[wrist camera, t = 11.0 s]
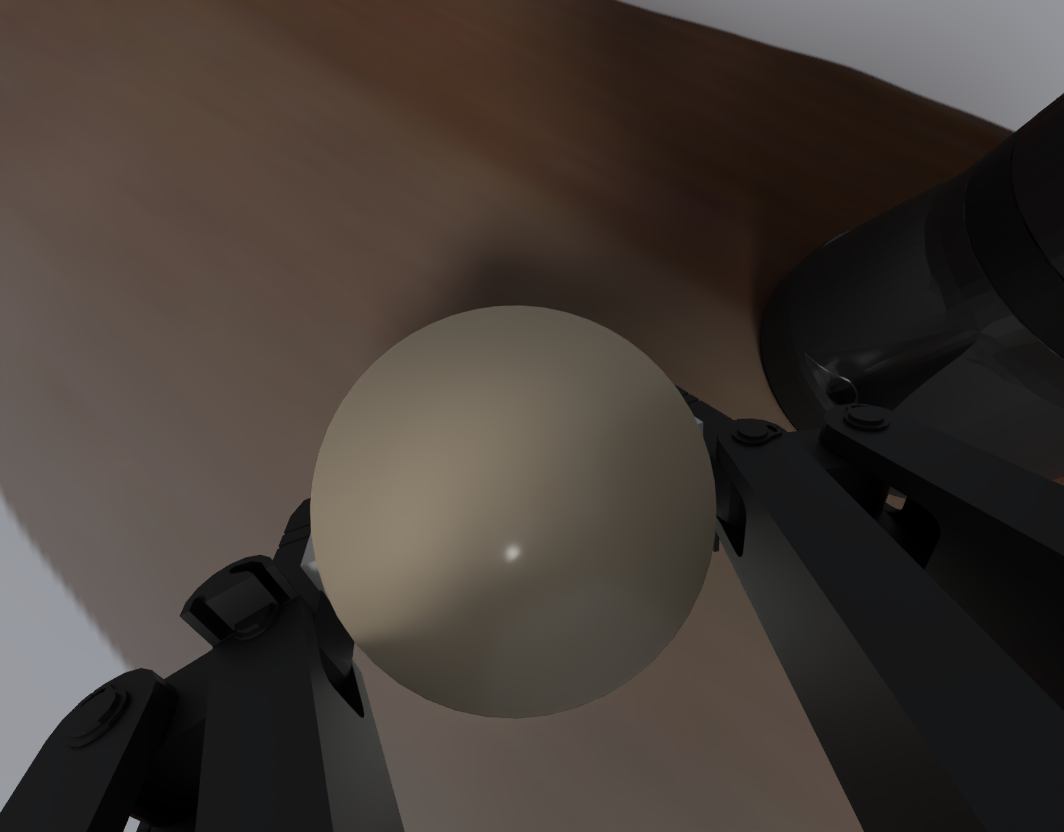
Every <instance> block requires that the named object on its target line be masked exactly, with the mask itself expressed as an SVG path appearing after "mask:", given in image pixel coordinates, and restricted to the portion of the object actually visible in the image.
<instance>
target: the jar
mask: <svg viewBox="0 0 1064 832" xmlns="http://www.w3.org/2000/svg"><path fill="white" fill-rule="evenodd" d="M716 510H717V507H716V493H715V481H714V476H713V471H712V466H711V461H710V456H709V453H708V450H707V447H706V444H705V441H704V438H703V435H702V433H701V430H700V428H699V426H698V424H697V422H696V420H695V418H694V416H693V413H692V411H691V410H690V408H689V406H688V405H687V403H686V402H685V400H684V398H683V397H682V395H681V394H680V392H679V390H678V389H677V388H676V387H675V385H674V384H673V383H672V382H671V380H670V379H669V378H668V377H667V375H666V374H665V373H664V372H663V371H662V370H661V369H660V368H659V367H658V366H657V365H656V364H655V363H654V362H653V361H652V360H651V359H650V358H649V357H648V356H647V355H646V354H645V353H643V352H642V351H641V350H639V349H638V348H637V347H636V346H634V345H633V344H632V343H630V342H629V341H628V340H626V339H625V338H623V337H621V336H620V335H618V334H616V333H615V332H613V331H611V330H610V329H608V328H606V327H604V326H601V325H599V324H597V323H595V322H593V321H591V320H588V319H586V318H583V317H580V316H577V315H573V314H570V313H567V312H563V311H558V310H554V309H549V308H544V307H533V306H522V305H520V306H495V307H488V308H480V309H474V310H471V311H467V312H463V313H459V314H455V315H452V316H449V317H447V318H444V319H442V320H439V321H436V322H434V323H431V324H429V325H427V326H426V327H424V328H422V329H420V330H418V331H416V332H414V333H412V334H410V335H409V336H407V337H406V338H405V339H403V340H402V341H400V342H399V343H397V344H396V345H394V346H393V347H391V348H390V349H389V350H388V351H387V352H386V353H384V354H383V355H382V356H381V357H380V358H379V359H378V360H376V361H375V362H374V363H373V364H372V365H371V366H370V367H369V368H368V369H367V371H366V372H365V373H364V374H363V375H362V376H361V377H360V378H359V379H358V381H357V382H356V383H355V384H354V386H353V387H352V388H351V390H350V391H349V393H348V394H347V396H346V397H345V398H344V400H343V401H342V403H341V404H340V406H339V408H338V410H337V412H336V414H335V416H334V418H333V419H332V421H331V423H330V425H329V427H328V430H327V432H326V435H325V438H324V440H323V443H322V446H321V448H320V451H319V455H318V459H317V463H316V468H315V472H314V476H313V483H312V493H311V502H310V516H311V537H312V543H313V548H314V554H315V560H316V564H317V568H318V571H319V574H320V577H321V580H322V583H323V586H324V590H325V592H326V594H327V596H328V598H329V600H330V602H331V604H332V606H333V608H334V611H335V613H336V615H337V617H338V618H339V620H340V621H341V623H342V624H343V626H344V627H345V629H346V630H347V632H348V633H349V635H350V636H351V637H352V639H353V640H354V642H355V643H356V644H357V645H358V646H359V647H360V648H361V650H362V651H363V652H364V653H365V654H366V655H367V656H368V657H369V658H370V659H371V660H372V661H373V663H374V664H375V665H377V666H378V667H379V668H380V669H382V670H383V671H384V672H385V673H387V674H388V675H389V676H390V677H392V678H393V679H394V680H395V681H397V682H398V683H399V684H401V685H402V686H404V687H406V688H408V689H409V690H411V691H413V692H415V693H416V694H418V695H420V696H422V697H423V698H425V699H427V700H430V701H432V702H435V703H438V704H440V705H443V706H445V707H448V708H451V709H453V710H456V711H461V712H466V713H470V714H475V715H480V716H484V717H499V718H526V717H536V716H546V715H551V714H555V713H558V712H562V711H566V710H570V709H574V708H577V707H580V706H582V705H584V704H587V703H589V702H591V701H594V700H596V699H598V698H601V697H603V696H605V695H607V694H609V693H610V692H612V691H613V690H615V689H617V688H618V687H620V686H621V685H623V684H625V683H626V682H628V681H629V680H631V679H632V678H633V677H635V676H636V675H637V674H638V673H639V672H641V671H642V670H643V669H644V668H645V667H646V666H648V665H649V664H650V663H651V662H652V661H654V660H655V658H656V657H657V656H658V655H659V654H660V653H661V652H662V650H663V649H664V648H665V647H666V646H667V645H668V644H669V643H670V641H671V640H672V639H673V638H674V637H675V635H676V634H677V632H678V630H679V629H680V627H681V626H682V624H683V623H684V621H685V620H686V618H687V617H688V615H689V614H690V612H691V610H692V608H693V605H694V603H695V601H696V599H697V597H698V595H699V593H700V591H701V589H702V586H703V583H704V580H705V577H706V573H707V570H708V567H709V564H710V561H711V555H712V550H713V544H714V539H715V529H716Z"/></svg>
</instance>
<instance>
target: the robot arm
mask: <svg viewBox="0 0 1064 832" xmlns="http://www.w3.org/2000/svg"><path fill="white" fill-rule="evenodd" d="M761 345H762V355H763V360H764V365H765V369H766V373H767V376H768V379H769V382H770V384H771V387H772V389H773V391H774V393H775V395H776V398H777V400H778V402H779V403H780V405H781V407H782V408H783V410H784V412H785V413H786V415H787V416H788V418H789V419H790V421H791V422H792V423H793V425H794V426H795V427H796V429H797V430H798V431H795V432H787V431H786V430H784V429H783V428H781V427H780V426H778V425H777V424H774V423H771V422H768V421H765V420H758V419H737V420H732V419H731V418H729V417H727V416H726V415H724V414H722V413H721V412H719V411H717V410H716V409H714V408H713V407H711V406H709V405H708V404H706V403H704V402H703V401H699V400H698V398H696V397H694V396H693V395H691V394H690V395H689V394H688V392H686V391H684V390H683V389H681V388H679V387H678V386H676V385H675V387H676V388H677V389H678V390H679V392H680V394H681V395H682V397H683V398H684V400H685V402H686V403H687V405H688V406H689V408H690V410H691V411H692V413H693V416H694V418H695V420H696V422H697V424H698V426H699V428H700V430H701V433H702V435H703V438H704V441H705V444H706V447H707V450H708V453H709V456H710V461H711V466H712V471H713V476H714V481H715V493H716V507H717V510H716V529H715V539H714V544H713V551H714V552H716V551H719V540H720V541H721V543H722V545H723V547H724V549H725V551H726V553H727V555H728V557H729V559H730V561H731V563H732V565H733V567H734V569H735V571H736V573H737V575H738V577H739V579H740V581H741V583H742V585H743V587H744V589H745V591H746V593H747V595H748V597H749V599H750V601H751V603H752V605H753V607H754V609H755V611H756V613H757V615H758V618H759V620H760V622H761V624H762V626H763V628H764V630H765V632H766V634H767V636H768V638H769V640H770V642H771V644H772V646H773V648H774V650H775V652H776V654H777V656H778V658H779V660H780V662H781V664H782V666H783V668H784V670H785V672H786V674H787V676H788V678H789V680H790V682H791V684H792V686H793V688H794V690H795V692H796V694H797V697H798V699H799V701H800V703H801V705H802V707H803V709H804V711H805V713H806V715H807V717H808V719H809V721H810V723H811V725H812V727H813V729H814V731H815V733H816V735H817V737H818V739H819V741H820V743H821V745H822V747H823V749H824V751H825V753H826V755H827V757H828V759H829V761H830V763H831V765H832V767H833V769H834V771H835V773H836V776H837V778H838V780H839V782H840V784H841V786H842V788H843V790H844V792H845V794H846V796H847V798H848V800H849V802H850V804H851V806H852V808H853V810H854V812H855V814H856V816H857V818H858V820H859V822H860V824H861V826H862V828H863V830H864V832H1064V486H1063V485H1061V484H1058V483H1056V482H1054V481H1052V480H1054V479H1057V478H1060V477H1063V476H1064V93H1063V94H1062V95H1061V96H1060V97H1058V98H1057V99H1056V100H1055V101H1053V102H1052V103H1051V104H1049V105H1048V106H1047V107H1046V108H1044V109H1043V110H1042V111H1041V112H1039V113H1038V114H1037V115H1036V116H1034V117H1033V118H1032V119H1031V120H1030V121H1028V122H1027V123H1026V124H1025V125H1024V126H1022V127H1021V128H1020V129H1018V130H1017V131H1016V132H1015V133H1013V134H1012V135H1011V136H1009V137H1008V138H1007V139H1006V140H1004V141H1003V142H1002V143H1001V144H999V145H998V146H997V147H996V148H994V149H993V150H992V151H991V152H989V153H988V154H987V155H985V156H984V157H983V158H981V159H980V160H979V161H978V162H976V163H975V164H974V165H972V166H971V167H970V168H969V169H967V170H965V171H964V172H962V173H961V174H959V175H957V176H955V177H953V178H951V179H949V180H948V181H946V182H944V183H942V184H940V185H938V186H936V187H934V188H932V189H930V190H928V191H926V192H924V193H922V194H920V195H918V196H916V197H914V198H912V199H910V200H908V201H906V202H904V203H902V204H900V205H898V206H896V207H894V208H892V209H890V210H888V211H886V212H885V213H883V214H881V215H879V216H877V217H875V218H873V219H871V220H869V221H868V222H866V223H864V224H862V225H860V226H858V227H857V228H855V229H852V230H849V231H846V232H844V233H841V234H839V235H837V236H835V237H833V238H831V239H830V240H828V241H826V242H825V243H823V244H822V245H821V246H819V247H818V248H816V249H815V250H814V251H813V252H812V253H810V254H809V255H808V256H807V257H806V258H805V259H804V260H803V261H802V262H801V263H800V264H799V265H797V266H796V267H795V268H794V269H793V270H792V271H791V272H790V273H789V274H788V275H787V276H786V277H785V278H784V279H783V280H782V281H781V282H780V283H779V285H778V286H777V287H776V289H775V290H774V292H773V294H772V295H771V297H770V299H769V302H768V304H767V307H766V310H765V313H764V317H763V323H762V332H761ZM888 494H891V495H894V496H898V497H902V498H906V501H905V503H904V506H903V508H902V509H901V510H900V509H896V508H894V507H892V506H890V505H889V504H887V503H885V502H886V499H887V496H888ZM310 502H311V498H309V499H306V500H304V501H303V502H302V503H301V505H300V506H299V507H298V508H297V509H296V511H295V512H294V513H293V514H292V515H291V516H290V519H289V521H288V524H287V526H286V529H285V531H284V533H285V535H283V536H282V539H281V541H280V544H279V549H277V552H276V554H275V557H274V559H273V561H272V559H271V558H270V557H267V556H263V555H257V556H251V557H246V558H244V559H241V560H239V561H236V562H234V563H232V564H230V565H228V566H226V567H225V568H223V569H222V570H220V571H219V572H217V573H215V574H214V575H212V576H211V577H210V578H209V579H208V580H207V581H205V582H204V583H203V584H202V585H201V586H200V587H198V588H197V590H196V591H195V592H194V593H193V594H192V596H191V597H190V598H189V599H188V600H187V602H186V603H185V605H184V607H183V610H182V612H181V614H180V617H181V618H182V619H183V620H184V621H185V622H186V623H188V624H189V625H190V626H191V627H192V628H193V629H194V630H195V631H196V632H198V633H199V634H200V635H201V636H202V637H203V638H204V639H205V640H206V641H207V642H209V643H210V644H211V645H212V646H213V649H212V650H211V651H209V652H208V653H206V654H205V655H203V656H201V657H200V658H198V659H196V660H195V661H193V662H192V663H190V664H188V665H187V666H185V667H183V668H182V669H180V670H178V671H177V672H175V673H174V674H172V675H170V676H169V677H167V678H165V679H163V678H161V677H160V676H159V675H157V674H156V673H155V672H154V671H152V670H148V669H143V668H140V669H136V670H133V671H129V672H126V673H123V674H122V675H120V676H118V677H116V678H114V679H113V680H111V681H109V682H107V683H105V684H104V685H102V686H101V687H99V688H98V689H96V690H95V691H94V692H93V693H92V694H89V695H88V696H87V697H86V698H85V699H83V700H82V701H81V702H80V703H79V704H78V705H77V706H76V707H75V708H74V709H73V710H72V711H71V712H70V713H69V714H68V715H67V716H66V717H65V718H64V719H63V720H62V721H61V722H60V723H59V725H58V726H57V727H56V729H55V730H54V731H53V733H52V734H51V735H50V736H49V738H48V739H47V740H46V742H45V744H44V745H43V746H42V748H41V750H40V751H39V753H38V754H37V756H36V758H35V759H34V761H33V762H32V764H31V765H30V767H29V768H28V770H27V772H26V773H25V775H24V776H23V778H22V780H21V781H20V783H19V784H18V786H17V787H16V789H15V790H14V792H13V794H12V795H11V797H10V798H9V800H8V802H7V803H6V805H5V806H4V808H3V809H2V811H1V812H0V832H123V831H124V828H125V826H126V824H127V821H128V819H129V816H130V817H132V818H134V819H137V820H139V821H140V824H139V826H138V829H137V831H136V832H404V828H403V824H402V821H401V817H400V813H399V809H398V806H397V802H396V798H395V795H394V791H393V787H392V784H391V780H390V776H389V773H388V769H387V765H386V762H385V758H384V754H383V750H382V747H381V743H380V739H379V736H378V732H377V728H376V725H375V721H374V717H373V714H372V710H371V706H370V702H369V699H368V695H367V691H366V688H365V684H364V680H363V677H362V673H361V671H360V670H359V668H358V667H357V665H356V664H355V662H354V661H353V660H352V657H353V649H354V640H353V639H352V637H351V636H350V635H349V633H348V632H347V630H346V629H345V627H344V626H343V624H342V623H341V621H340V620H339V618H338V617H337V615H336V613H335V611H334V608H333V606H332V604H331V602H330V600H329V598H328V596H327V594H326V592H325V590H324V586H323V583H322V580H321V577H320V574H319V571H318V568H317V564H316V560H315V554H314V548H313V543H312V537H311V516H310Z"/></svg>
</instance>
